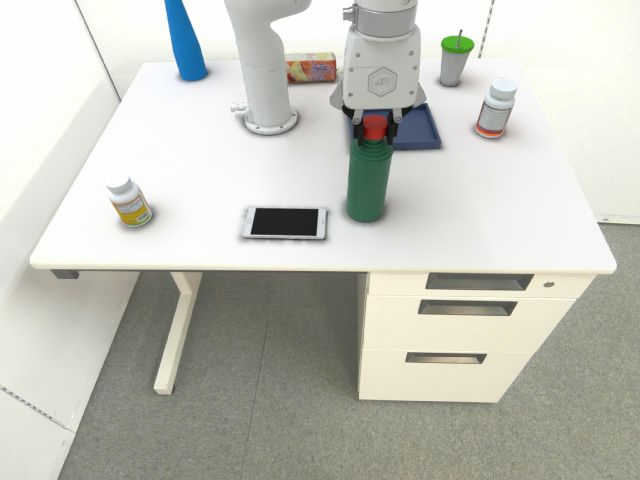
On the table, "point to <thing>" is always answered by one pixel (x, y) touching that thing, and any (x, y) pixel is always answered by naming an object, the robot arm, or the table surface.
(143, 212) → the supplement bottle
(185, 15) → the bottle
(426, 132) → the tray
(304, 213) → the smartphone
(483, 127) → the pill bottle
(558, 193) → the table surface
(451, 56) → the cup
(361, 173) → the water bottle
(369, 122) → the cap
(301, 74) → the juice carton
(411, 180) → the table surface
